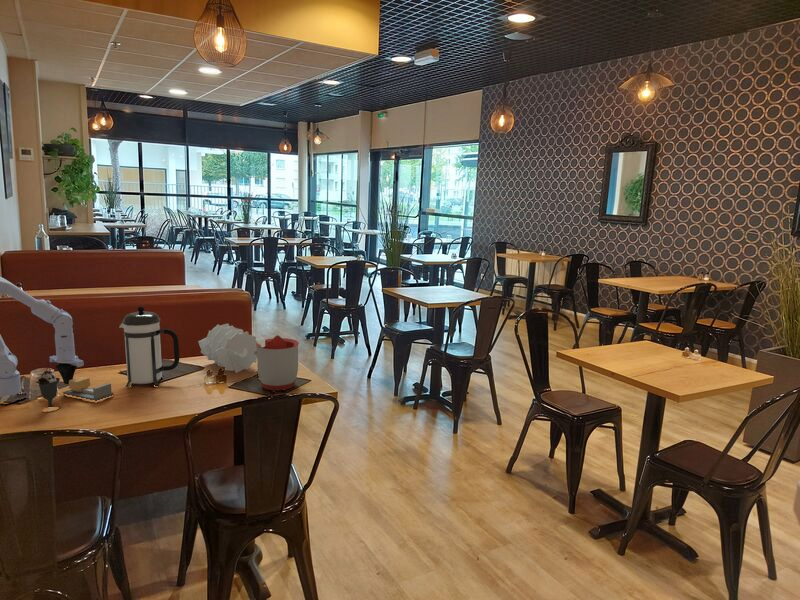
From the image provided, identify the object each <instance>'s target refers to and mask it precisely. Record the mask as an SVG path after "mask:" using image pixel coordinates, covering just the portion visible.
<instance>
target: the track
mask: <svg viewBox="0 0 800 600" xmlns="http://www.w3.org/2000/svg"><path fill="white" fill-rule="evenodd" d="M62 394H67V395H72V396H76V397H81V398H86V399H90V400H95V401H97V400H100V399H103V398H106V397H109V396H112V395H115V394H114V392H112V383H111V382H110V383H109V382H108V383H103V384H101V385H98V386H95V387H92V388H91V387H88V389H86V388H83V389H82V392H76V391H72V389H68V390H66V391H63V392H62Z"/></svg>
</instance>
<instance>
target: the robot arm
mask: <svg viewBox="0 0 800 600" xmlns="http://www.w3.org/2000/svg"><path fill="white" fill-rule="evenodd" d="M0 295H8V296H10V297H11V298H13V299H14V300H16V301H17V302H20V303H22V304H23V305H25V306H27V307H29V308H30V311H31V314H32V315H34V316H36V317H38V318H40V319H42V320H43V321H44V322H46V323H48V324H52V326H53V328H54V342H55V344H54V345H55V353H56V355H52V356H51V355H50V356H49V363H58V364H57V365H55V369H56V370H57V371H58V373H59V374H60V376H61V379H62V381H63V383H64V384H65V385H69V380H72V379H74V376H75V372H76V370H77V368H81V367H84V360H82V359H79V356H78V355H76V348H75V347H76V346H75V338H74V337H75V336H74V335H75V334H74V332H73V331H74V328H73V325H74V322H73V317H72V316H71V314H70V313H69V312H67V311H65V310H64V309H63V308H58V307H56V306H54V305H53V304H52V302H51V301H50V300H49V299H47V300H45V299H36V297H33V296H31V295H30V294H29V293H27V292H26V291H24V290H23V289H21V288H20V287H19V286H16V285H15V284H13V283H12V282H11V281H9V280H7V279H6V278H5V277H2V276H0ZM18 364H19V361H18V358H17V356H16V355H15V354H13V353H12V352H11V351H10V349H9V347H8V346H7V345H6V343H5V341H4V339H3V337H2V335H1V334H0V397H3V396H6V395H15V394H17V393H19V392H21V393H22V386H21V385H22V384H21V383H22V382H21V375H20V371H18V370H17V366H18ZM64 384H63V385H64Z"/></svg>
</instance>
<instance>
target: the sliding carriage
mask: <svg viewBox="0 0 800 600" xmlns="http://www.w3.org/2000/svg"><path fill="white" fill-rule="evenodd" d="M90 379H91V378H90V377H86V376H78V377H76V378H73V379H72V380H69V384H68V388H69V389H68V390H71V389H72V391H76V392H82V389H83V388H86V389H88V388H90V387H91V383H90V382H91V381H90Z"/></svg>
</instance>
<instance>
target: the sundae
mask: <svg viewBox="0 0 800 600" xmlns="http://www.w3.org/2000/svg"><path fill="white" fill-rule="evenodd" d="M48 369H49V371H48ZM60 381H61V378H60V377H57V376H56V375H55V374H54V373H53V372H52V371H51V368H50V364H47V368H46V370H44V371H43V373H42V374H41V375H40V378H38V379H37V381H35V383H36V384H38V387H39V390H40V393H41V397H42V398H43V399H44V400H47V407H53V406H54V405H53V400H54V399H55V398H56V397H57V393H58V383H59V382H60Z"/></svg>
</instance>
